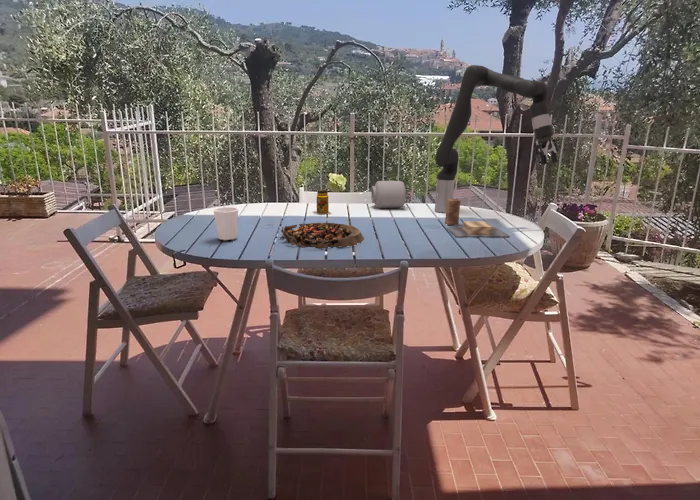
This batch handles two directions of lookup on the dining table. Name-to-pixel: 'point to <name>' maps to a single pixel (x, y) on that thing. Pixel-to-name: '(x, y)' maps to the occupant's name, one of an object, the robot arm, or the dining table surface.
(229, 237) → the cup
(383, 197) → the jar
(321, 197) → the condiment
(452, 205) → the pillar
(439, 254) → the dining table surface
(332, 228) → the food dish
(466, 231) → the plinth
